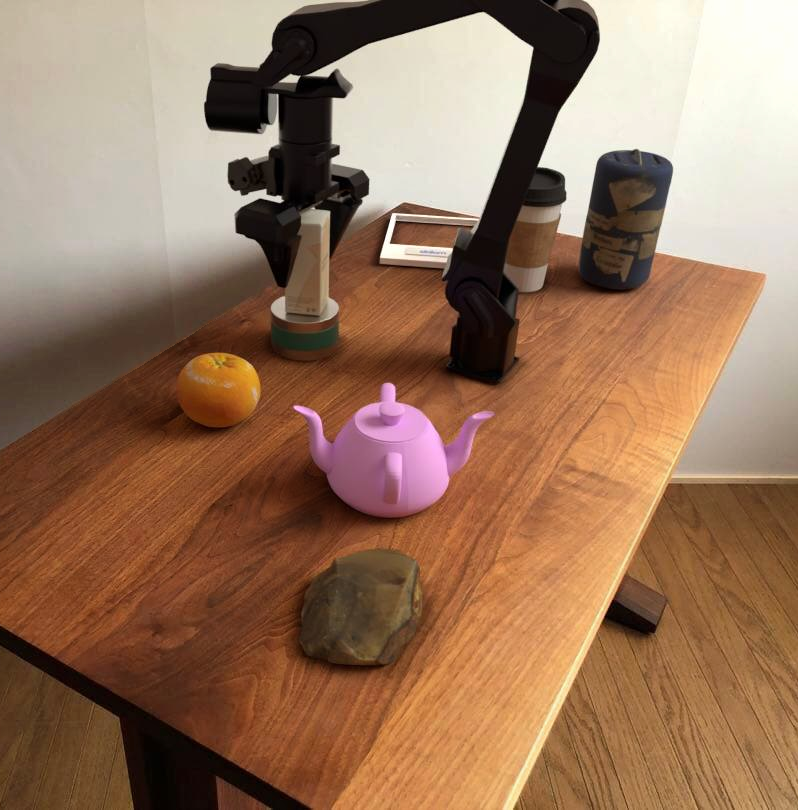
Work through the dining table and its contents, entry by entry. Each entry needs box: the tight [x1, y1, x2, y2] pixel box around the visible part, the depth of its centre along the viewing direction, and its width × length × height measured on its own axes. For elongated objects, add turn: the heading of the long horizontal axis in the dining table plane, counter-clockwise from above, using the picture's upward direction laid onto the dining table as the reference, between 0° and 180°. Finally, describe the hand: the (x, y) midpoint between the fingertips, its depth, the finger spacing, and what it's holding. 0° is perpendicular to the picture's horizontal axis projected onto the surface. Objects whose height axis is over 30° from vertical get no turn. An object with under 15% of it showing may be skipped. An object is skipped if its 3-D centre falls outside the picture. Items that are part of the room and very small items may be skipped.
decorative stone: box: [298, 547, 423, 666], centre depth 71 cm, size 10×9×4 cm
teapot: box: [293, 382, 495, 518], centre depth 84 cm, size 12×14×9 cm
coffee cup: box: [503, 166, 568, 293], centre depth 121 cm, size 8×8×15 cm
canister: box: [577, 148, 674, 290], centre depth 121 cm, size 10×10×18 cm
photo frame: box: [379, 212, 479, 270], centre depth 136 cm, size 15×1×18 cm
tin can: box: [270, 295, 340, 362], centre depth 108 cm, size 8×8×5 cm
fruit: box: [176, 352, 261, 428], centre depth 95 cm, size 8×8×8 cm
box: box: [284, 208, 330, 315], centre depth 105 cm, size 5×4×11 cm
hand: (304, 272), depth 105 cm, fingers open, 9 cm apart
